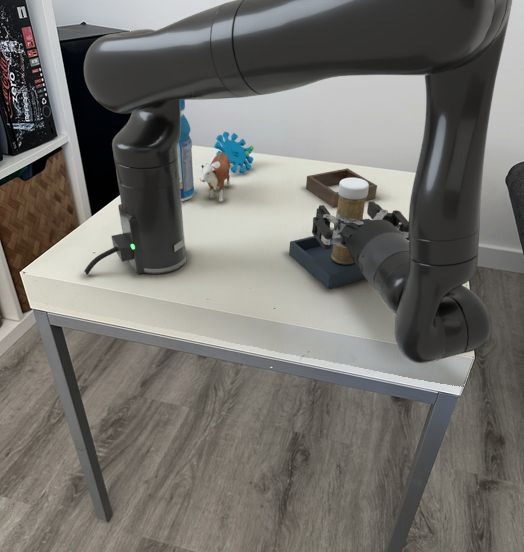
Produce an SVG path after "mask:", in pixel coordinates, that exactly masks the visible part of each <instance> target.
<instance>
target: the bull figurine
mask: <svg viewBox="0 0 524 552" xmlns="http://www.w3.org/2000/svg"><path fill="white" fill-rule="evenodd" d="M230 169H231V164H230V161H229V158H228V156H227V155H225V154H224V153H223V152H222V151H221V153H220V154H218V155H216V154H215V156H214V157H213V159H212V160H211V163H210V164H204V165H203V164H202V165H201V176H200V177H199V181H200V182H202V183H207V185H208V187H209V191H210V195H209V199H210V200H214V199H215V196H216V195H215V191H217V190H218V188H219V191H218V192H219V197H218V202H219V203H224V195H223V194H224V189H225V187H226V189H227V188H229V189H230V188H231V181H230ZM225 180H226V183H225Z"/></svg>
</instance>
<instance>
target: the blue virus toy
mask: <svg viewBox="0 0 524 552" xmlns="http://www.w3.org/2000/svg"><path fill="white" fill-rule="evenodd" d="M229 137H231V138H229ZM238 137H239V135H237V134H236V133H235V132H233V133H232V134H231V135H230V132H228V131H224V132H223V133H222V134H219V135H217V136H216V138H215V139H216V142H215V143H214V145H213V147H214V149H217V152H216V153H215V156H216V155H218V154H220V153H221V152H223V153H224V154H225V155H227V156H228V158H229V161H230V165H232V166H231V167H230V169H229V171H231V172H232V173H234V174H236V173H237V172H238V173H239V174H245V173H246V172H247V171H250V170H251V169H252V167H253V166H252V163H253V162H254V157H253V156H250V154H251V153H252V152H253V151H254V149H255V148H254V146H253V145H250V146H249V147H244V146H245V145H246V144H247V142H246V141H245V139H244V138H241V139H240V140H239V141H236V140H237V139H238ZM238 166H239V169H238Z"/></svg>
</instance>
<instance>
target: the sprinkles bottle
mask: <svg viewBox="0 0 524 552" xmlns="http://www.w3.org/2000/svg"><path fill="white" fill-rule="evenodd" d="M368 189H369V184H368V182H367V181H365V180H363V179H359V178H345V179H342V180H341V181H340V183H339V184H338V191H337V192H338V193H339V199H338V207H336V214H335V217H339V216H344V217H346V218H349V219H352V220H363V219H364V213H365V206H366V200H365V199H366V197H367V195H368ZM344 227H345V224H342V230H343V228H344ZM331 259H332V260H333V261H334V262H336V263H338V264H342V265H350V264H353V263H355V262H354V261H353V260H352V258H351V256H350V254H349V251H348V248H347V247H345V246H343V245H341V243H337V244H333V251H332V255H331Z"/></svg>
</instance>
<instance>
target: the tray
mask: <svg viewBox="0 0 524 552" xmlns="http://www.w3.org/2000/svg"><path fill="white" fill-rule="evenodd" d="M332 251H333V244H332V246H331V249H324V248H323V247H322V245H321V244H320V243H319V242H318V240H317V239H316V238H315V236H314V235H311V236H307V237H304V238H298V239H295V240H291V241H289V251H288V253H289V254H288V255H289V256H290V257H291V258H292V259H294V260H295V261H296V262H297V263H298V264H299V265H301V266H302V267H303V268H304V269H305V270H306V271H307V272H308V273H310V274H311V275H312V276H313V278H315V279H316V280H317V281H319V283H321V284H322V285H323V286H324V287H325V288H326V289H329V290H330V289H331V288H337V287H339V286H344V285H347V284H349V283H353V282H357V281H360V280H363V279H366V278H365V276H364V275H363V274H362V272H361V271H360V269H359V268H358V267H357V265H356V264H355V263H353V264H350V265H342V264H338V263H336V262H334V261H333V260H332V259H331V255H332Z"/></svg>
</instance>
